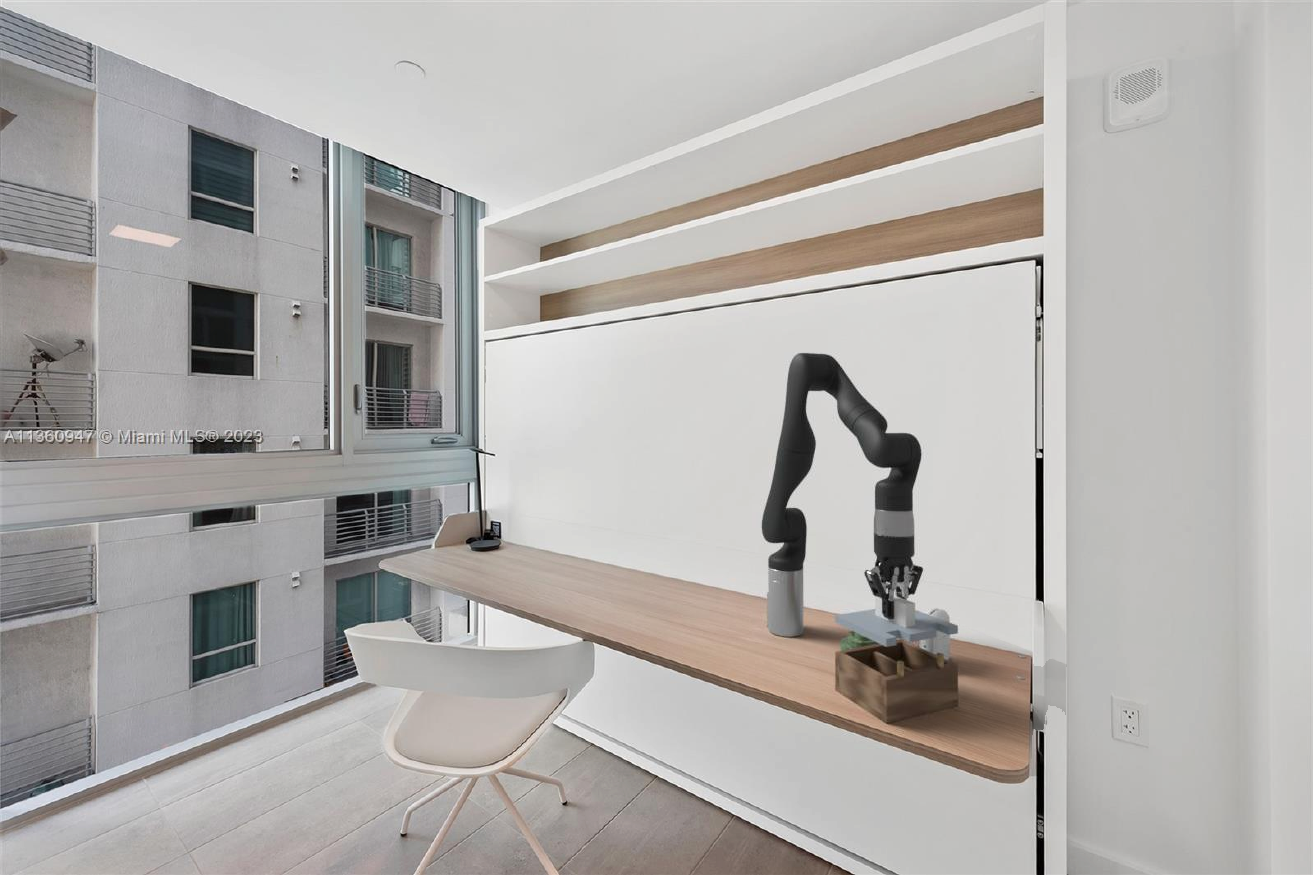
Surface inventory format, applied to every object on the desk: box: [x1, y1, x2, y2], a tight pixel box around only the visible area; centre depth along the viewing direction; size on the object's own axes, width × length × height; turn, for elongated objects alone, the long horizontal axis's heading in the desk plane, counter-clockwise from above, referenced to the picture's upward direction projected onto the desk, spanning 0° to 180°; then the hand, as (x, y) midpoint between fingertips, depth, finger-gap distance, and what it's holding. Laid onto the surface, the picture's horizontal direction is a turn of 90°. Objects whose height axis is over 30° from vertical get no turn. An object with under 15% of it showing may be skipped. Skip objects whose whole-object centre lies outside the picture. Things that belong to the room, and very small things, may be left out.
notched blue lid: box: [834, 592, 959, 647], centre depth 108 cm, size 14×18×6 cm
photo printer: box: [918, 607, 951, 661], centre depth 124 cm, size 10×4×12 cm, turn 133°
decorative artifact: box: [840, 630, 879, 651], centre depth 129 cm, size 10×7×10 cm
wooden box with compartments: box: [834, 638, 959, 725], centre depth 108 cm, size 14×18×10 cm
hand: (894, 616), depth 108 cm, fingers closed on notched blue lid, 2 cm apart
